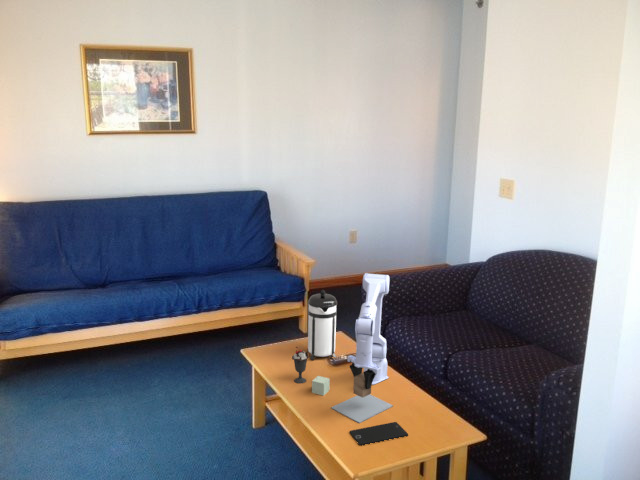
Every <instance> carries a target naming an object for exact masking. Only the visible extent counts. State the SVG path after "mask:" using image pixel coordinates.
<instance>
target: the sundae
mask: <svg viewBox="0 0 640 480" xmlns="http://www.w3.org/2000/svg"><path fill="white" fill-rule="evenodd" d="M295 348H296V349H297V350H295V352H294V354H293V355H292V357H291V359H292V360H293V361H294V362H293V363H294V369H295V371H296V372H297V373H298V377H296V378H294V380H293V381H294V383H296V384H305V383H307V379H306V378H304V377H303V373H304V372H305V371H306V368H307V362H308V359H310V356H309V351H308V350H307V351H304V350H302V349H300V348H298V346H295Z"/></svg>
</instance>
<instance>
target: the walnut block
mask: <svg viewBox="0 0 640 480" xmlns="http://www.w3.org/2000/svg"><path fill="white" fill-rule="evenodd" d="M352 393H353V394H355V396H357V395H358V396H360V397H362V398H363V397H365V396H367V395H369V394H370V395H372V387H371V388H369V389H366V388H365V377H364V374H363V372H362V373H361V374H359V375H357V376H353V392H352Z"/></svg>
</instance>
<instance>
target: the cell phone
mask: <svg viewBox="0 0 640 480" xmlns="http://www.w3.org/2000/svg"><path fill="white" fill-rule="evenodd" d="M349 434H350V436H351V435H352V436H353V437H352V436H351V437H352V438H353V439H354V441H355V440H356V441H357V442H358V443H357V442H356V441H355V442H356V443H357V445H358V446H360V445H363V446H366V445H365V444H368V445H371V444H370V443H373V444H376V443H375V442H378V443H381V442H380V441H382V442H385V441H384V440H387V441H390V440H389V439H392V440H395V439H394V438H397V439H400V438H399V437H402V438H405V437H404V436H406V437H408V436H409V433H407V431H406V429H404V428H403V426H401V425H400V424H399V423H398V421H394V422H392V421H391V422H387V423H382V424H377V425H372V426H367V427H363V428H357V429H353V430H349Z"/></svg>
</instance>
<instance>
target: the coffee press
mask: <svg viewBox="0 0 640 480" xmlns="http://www.w3.org/2000/svg"><path fill="white" fill-rule="evenodd" d="M307 305H308V309H307V315H308V321H307V322H308V323H307V325H308V326H307V327H308V328H307V335H308V336H307V351H308V353H310V356H309V359H310V361H314V360H315V359H316V357H322V358H323V357H330V358H331V357H336V358H337V356H336V355H337V354H336V353H335V352H336V337H337V336H336V333H337V331H336V330H337V329H336V328H337V314H338V313H337V311H338V310H337V305H338V300H337V299H336V297H335V296H334V295H332V294H329V293H326V290H324V289H321V290H320V291H319V293H316V294H313V295H311V296H310V297H309V298H308V300H307Z"/></svg>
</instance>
